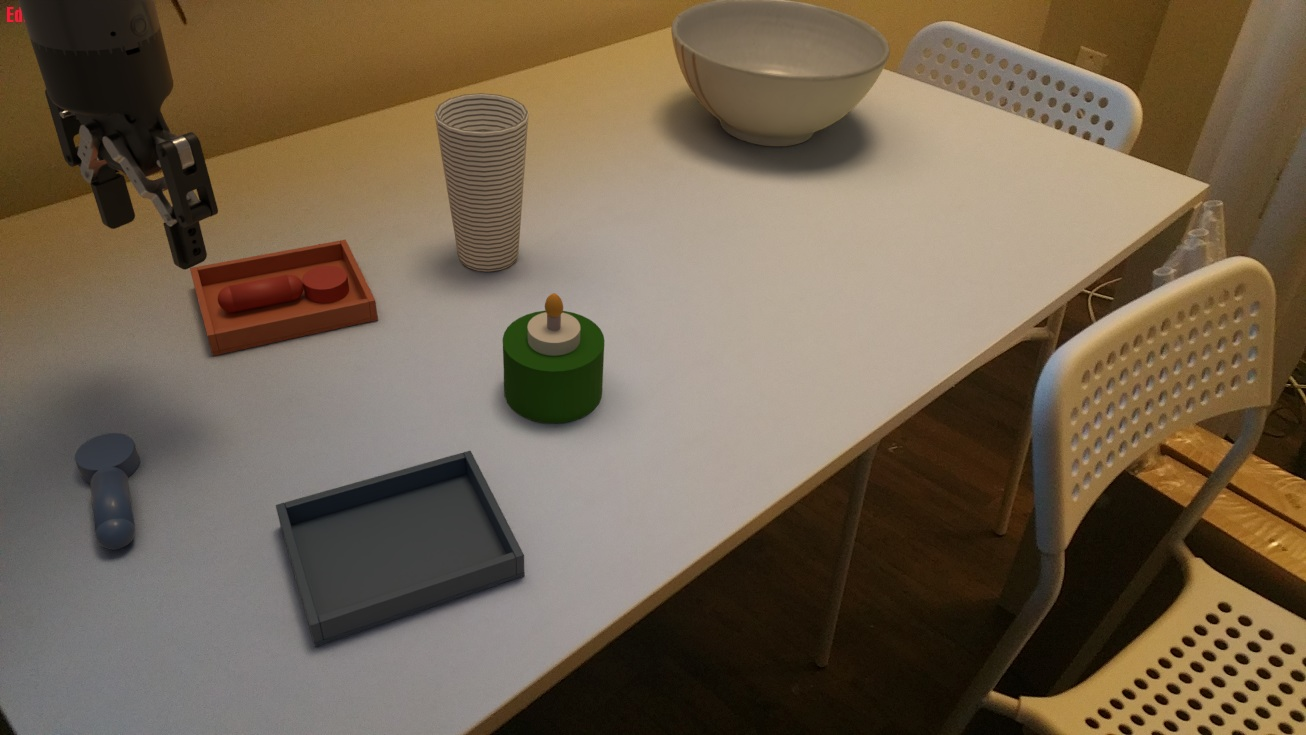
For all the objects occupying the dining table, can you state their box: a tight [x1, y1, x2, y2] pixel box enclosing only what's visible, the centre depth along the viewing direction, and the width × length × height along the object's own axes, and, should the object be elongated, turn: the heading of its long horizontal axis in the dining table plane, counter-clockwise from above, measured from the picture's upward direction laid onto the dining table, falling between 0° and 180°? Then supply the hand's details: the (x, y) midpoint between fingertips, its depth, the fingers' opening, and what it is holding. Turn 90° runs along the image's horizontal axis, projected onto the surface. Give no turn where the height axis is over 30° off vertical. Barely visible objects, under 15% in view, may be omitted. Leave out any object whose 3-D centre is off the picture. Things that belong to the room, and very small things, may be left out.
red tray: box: [189, 239, 379, 357], centre depth 90 cm, size 14×11×2 cm
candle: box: [502, 292, 605, 425], centre depth 81 cm, size 8×8×10 cm
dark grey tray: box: [275, 450, 526, 647], centre depth 69 cm, size 14×11×2 cm
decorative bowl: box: [670, 0, 891, 147], centre depth 124 cm, size 27×27×12 cm
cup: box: [433, 92, 530, 273], centre depth 95 cm, size 8×8×16 cm
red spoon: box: [218, 266, 349, 312], centre depth 90 cm, size 11×4×2 cm, turn 117°
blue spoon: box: [74, 432, 141, 550], centre depth 70 cm, size 11×4×2 cm, turn 27°
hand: (155, 243), depth 73 cm, fingers open, 8 cm apart
